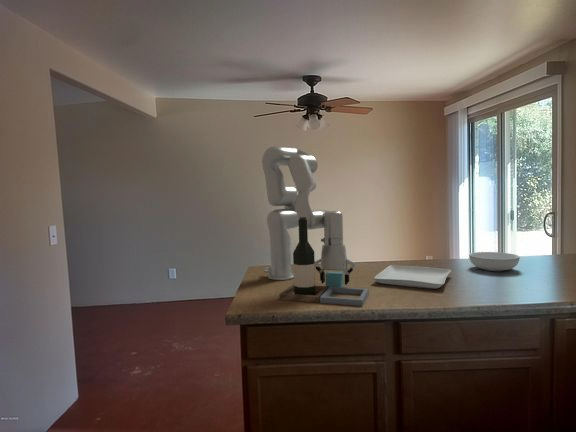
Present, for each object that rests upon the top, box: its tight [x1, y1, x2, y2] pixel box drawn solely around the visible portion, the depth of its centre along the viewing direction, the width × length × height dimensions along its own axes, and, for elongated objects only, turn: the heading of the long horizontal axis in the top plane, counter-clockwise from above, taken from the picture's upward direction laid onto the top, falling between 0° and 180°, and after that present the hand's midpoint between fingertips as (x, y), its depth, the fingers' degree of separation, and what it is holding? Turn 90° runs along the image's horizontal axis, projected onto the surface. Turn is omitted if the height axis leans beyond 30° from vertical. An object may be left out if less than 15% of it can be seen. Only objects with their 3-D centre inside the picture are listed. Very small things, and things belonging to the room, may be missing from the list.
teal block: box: [325, 271, 345, 287], centre depth 151 cm, size 6×6×6 cm
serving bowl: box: [468, 251, 521, 272], centre depth 175 cm, size 21×21×7 cm
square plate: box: [373, 264, 452, 290], centre depth 159 cm, size 27×27×4 cm
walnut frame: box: [279, 283, 329, 304], centre depth 142 cm, size 15×15×2 cm
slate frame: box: [319, 286, 370, 307], centre depth 136 cm, size 15×15×2 cm
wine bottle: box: [292, 217, 316, 296], centre depth 141 cm, size 8×8×30 cm
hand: (334, 283), depth 151 cm, fingers open, 9 cm apart
